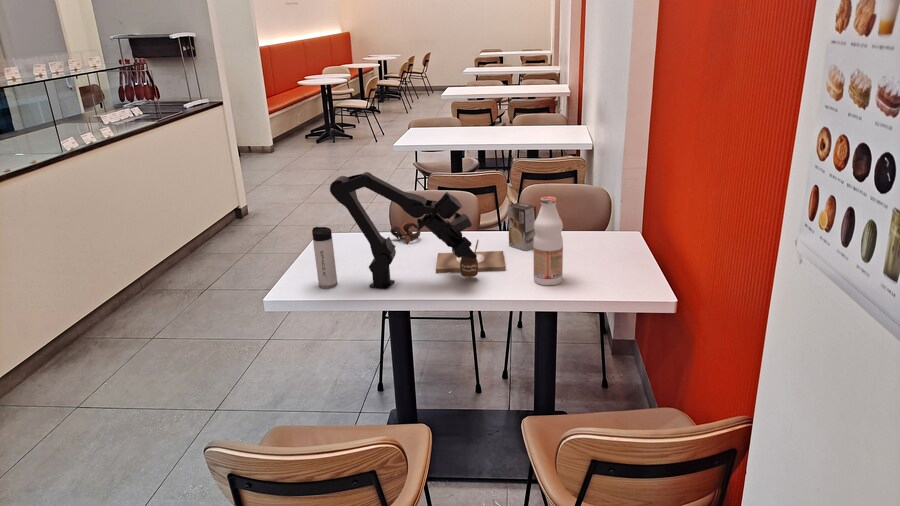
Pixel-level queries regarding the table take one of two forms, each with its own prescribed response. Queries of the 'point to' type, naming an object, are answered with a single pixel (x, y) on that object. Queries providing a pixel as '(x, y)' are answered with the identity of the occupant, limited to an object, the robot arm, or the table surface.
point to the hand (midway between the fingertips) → (473, 255)
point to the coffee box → (521, 225)
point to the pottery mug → (405, 232)
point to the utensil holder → (469, 265)
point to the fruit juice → (548, 244)
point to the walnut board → (485, 259)
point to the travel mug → (324, 257)
